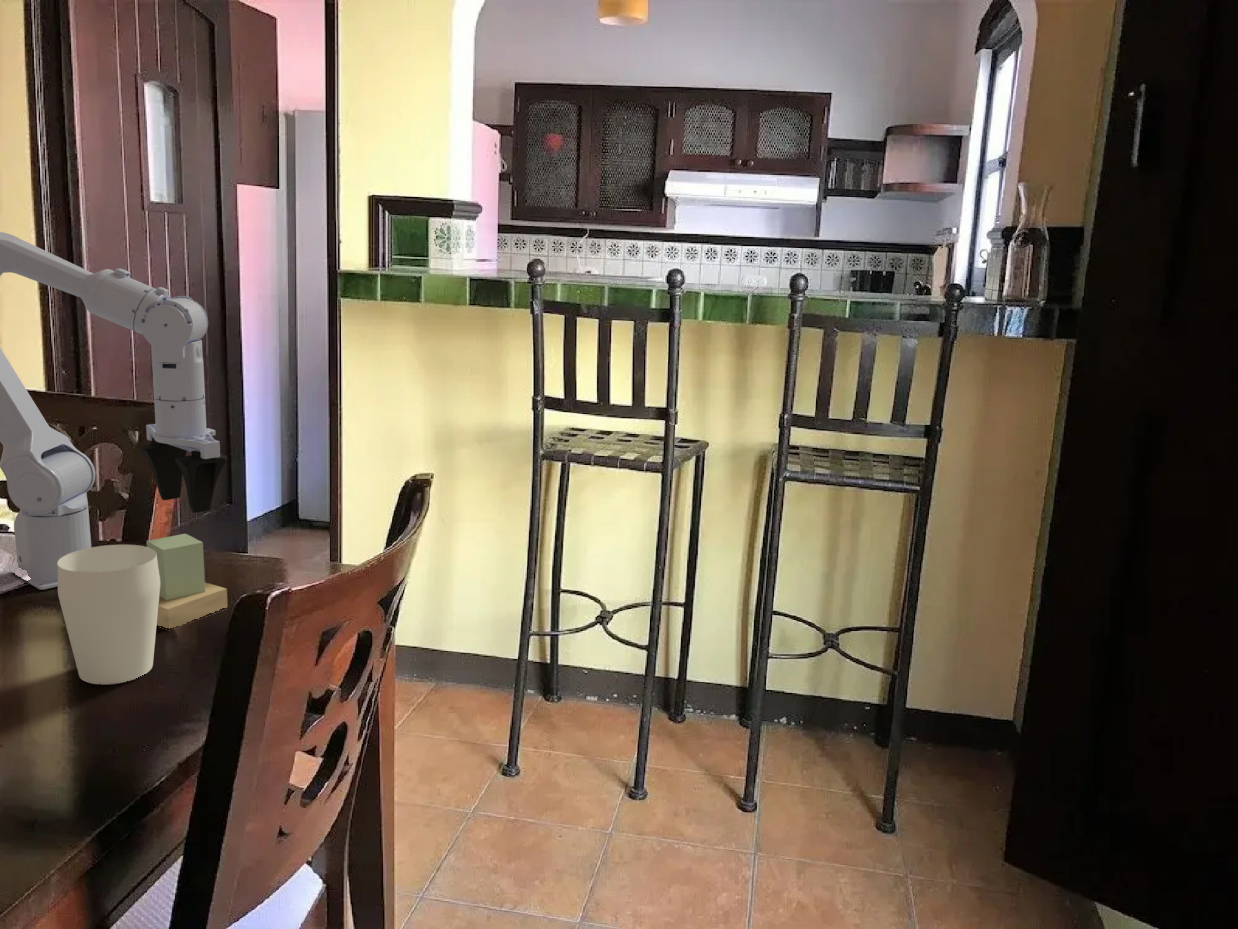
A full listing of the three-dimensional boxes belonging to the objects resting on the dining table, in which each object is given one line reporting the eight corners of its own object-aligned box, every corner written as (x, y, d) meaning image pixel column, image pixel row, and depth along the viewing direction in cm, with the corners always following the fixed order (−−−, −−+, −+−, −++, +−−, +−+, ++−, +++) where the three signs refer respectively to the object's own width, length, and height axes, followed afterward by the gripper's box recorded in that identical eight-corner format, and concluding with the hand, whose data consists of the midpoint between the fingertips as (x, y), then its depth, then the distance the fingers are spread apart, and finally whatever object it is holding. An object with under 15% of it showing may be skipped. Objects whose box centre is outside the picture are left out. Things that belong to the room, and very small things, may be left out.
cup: (125, 696, 94) (116, 577, 91) (43, 684, 96) (32, 567, 93) (184, 659, 103) (178, 549, 100) (108, 648, 104) (100, 540, 102)
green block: (149, 590, 114) (146, 540, 113) (188, 581, 118) (185, 533, 116) (166, 600, 112) (163, 550, 110) (205, 591, 115) (202, 542, 113)
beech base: (122, 619, 113) (120, 594, 113) (181, 598, 120) (180, 575, 120) (169, 634, 110) (168, 609, 109) (227, 612, 117) (226, 588, 116)
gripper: (241, 402, 119) (245, 510, 122) (182, 387, 128) (187, 488, 131) (184, 408, 114) (190, 521, 117) (127, 391, 122) (134, 497, 125)
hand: (185, 504), depth 123 cm, fingers open, 7 cm apart
